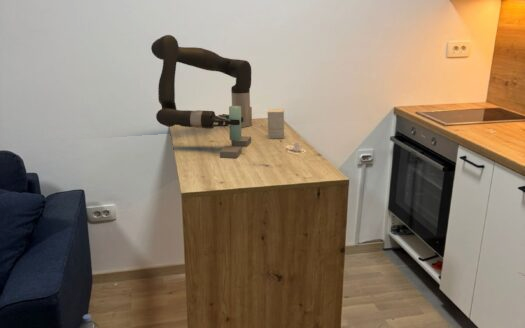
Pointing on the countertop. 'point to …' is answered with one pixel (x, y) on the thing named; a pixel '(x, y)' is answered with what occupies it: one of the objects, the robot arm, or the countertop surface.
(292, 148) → the teacup and saucer
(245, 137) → the rectangular blocks
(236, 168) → the countertop surface
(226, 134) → the countertop surface
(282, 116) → the supplement box
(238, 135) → the teal green tall block
